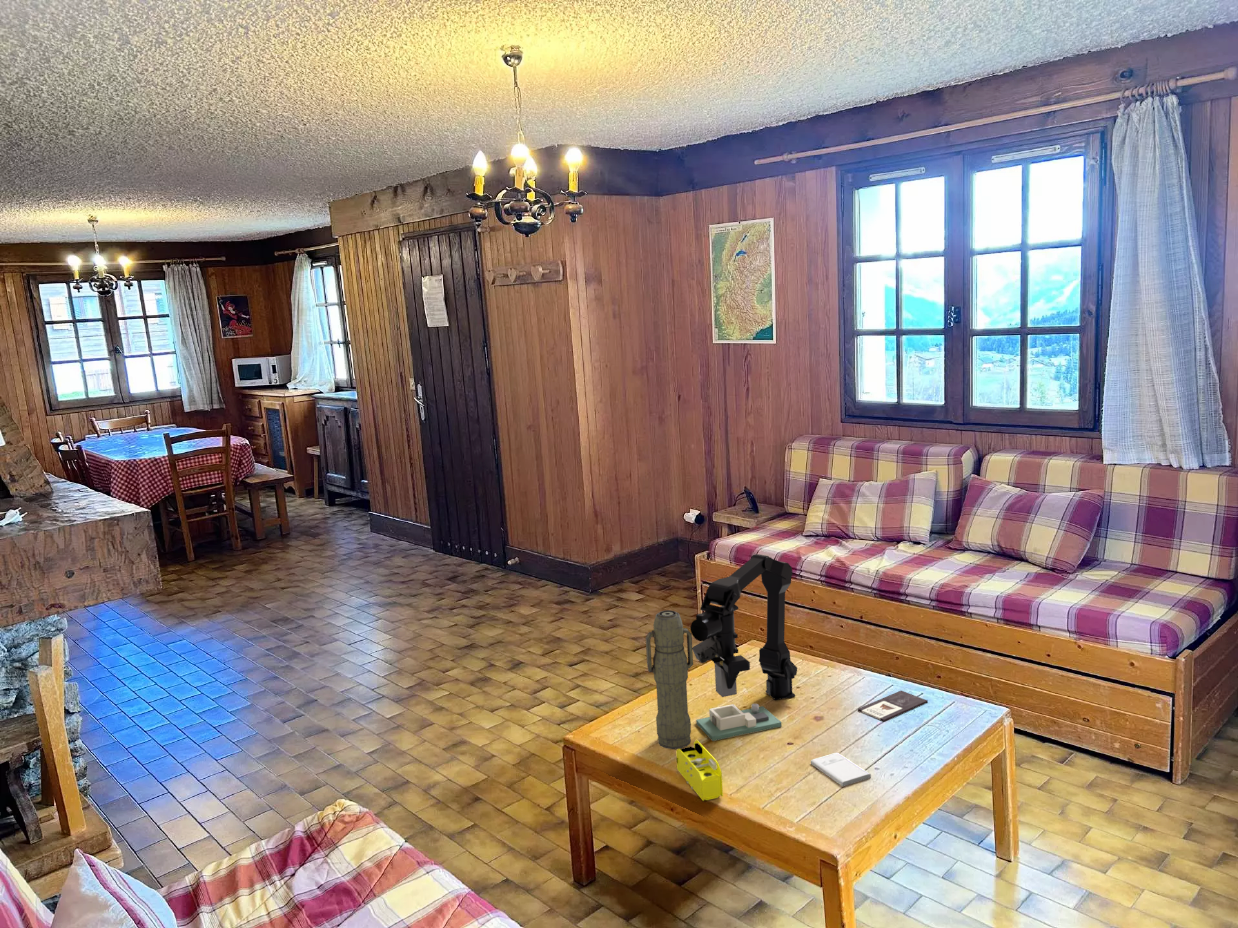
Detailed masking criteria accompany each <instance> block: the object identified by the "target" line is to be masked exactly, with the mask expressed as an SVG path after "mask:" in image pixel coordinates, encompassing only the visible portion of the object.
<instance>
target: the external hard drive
mask: <svg viewBox="0 0 1238 928" xmlns="http://www.w3.org/2000/svg"><path fill="white" fill-rule="evenodd" d="M810 765H811V766H813V767H814V768H817V770H819V771H821V772H822V773H823V774H824V775H826V776H827V777H829V778H830V779H832V781H834V782H835V783H836V784H838V785H839V786H841V787H846V786H849V785H851V784H855V783H858V782H861V781H865V780H868V779H871V778H872V775H871V773H869V772H868V771H867V770H865V769H863V768H862V767H860V766H859V765H857V764H856V763H855V762H853V761H851V760H850V759H848V758H847V757H845V756H844V755H842V754H841V753H839V752H833V753H830V754H827V755H824V756H820V757H816V758H813V759H811V760H810Z"/></svg>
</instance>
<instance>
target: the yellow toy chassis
mask: <svg viewBox="0 0 1238 928" xmlns="http://www.w3.org/2000/svg"><path fill="white" fill-rule="evenodd" d="M675 750H676V751H675V753H676V754H675V755H676V756H675V757H676V758H675V759H676V770H678V773H680V775H681V776H682V777H683V778H684V780H685V781H686V784H688V785H690V789H691V790H693V791H694V792H695V793H696V794H697V796H699V798H700V799H701V800H702V802H704V801H709V800H714V799H718V798H719V797H720V796H721V797H722V798H723V797H724V791H723V772H722V769H721V766H720V764H719V762H718V761H717V759H716V758H715V757H714V756H713V755H712V754H711V753H710V752H709V751H708V750H707V748H705V747H704V745H703V743H701V742H700V741H699V740H698V739H695V740H694V741H693V746H686V747H684V748H681V749H675Z"/></svg>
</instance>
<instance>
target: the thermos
mask: <svg viewBox="0 0 1238 928" xmlns="http://www.w3.org/2000/svg"><path fill="white" fill-rule="evenodd" d="M685 634H686V644H687V646H686V647H687V648H686V649H687V654H686V651H685V646H684V643H685V639H684V638H685V637H684V635H685ZM651 638H653V639H654V641H653V642H654V645H655V646H654V652H653V653H654V654H653V658H652V648H651ZM692 648H693V635H692V633H691V631H690V630H689V629H688V628H686V627H685V628H684V624H683V621H682V618H681V615H680V613H679V612H677V611H675V610H671V609H670V610H661V611H660V612H657V613H656V614H655V617H654V620H653V629H652V630H651V631H649V632H648V633H647V634H646V637H645V650H646V664H647V671H648V673H652V674H653V679H654V681H655V686H656V700H657V701H656V703H657V705H656V706H657V714H656V717H655V722H656V735H657V743H658V745H659V746H660V747H661V748H663V749H668V750H678V749H682V748H686V747H689V745H691V742H692V739H691V734H692V725H691V724H692V723H691V722H692V721H691V717H690V714H689V708H688V706H689V705H688V687H687V680H688V678H689V673H688V672H689V669H691V667H693V665H694V657H693V656H694V655H693V654H694V652H693V649H692Z"/></svg>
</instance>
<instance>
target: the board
mask: <svg viewBox="0 0 1238 928" xmlns="http://www.w3.org/2000/svg"><path fill="white" fill-rule="evenodd" d="M750 706H751V708H747V709H742V710H740V709H739V708H738V707H737V706H736V704H734V703H731V704H728V705H723V706H722V705H721V706H718V707H712V708H709V709H708V711H709V712H708V713H709V716H708V717H701V718H698V719H697V718H696V719H695V725H697V726H698V728H700V729H701V731H703V733H704V734H705V735H706V736H707V737H708V738H709V739H710V740H711V741H712V742H715V741H719V740H720V741H721V740H723V739H729V738H734V737H738V736H742V735H743V736H744V735H747V734H753V733H757V732H762V731H767V730H771V729H776V728H781V727H783V726H782V724H783V723H782V721H781V720H779V719H778V718H777V717H776V716H775V715H774V714H773V713H772V712H770V711H769V710H768V709H767V708H765V706H763V705H761V706H760V705H759V704H758V703H752V704H750Z"/></svg>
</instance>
